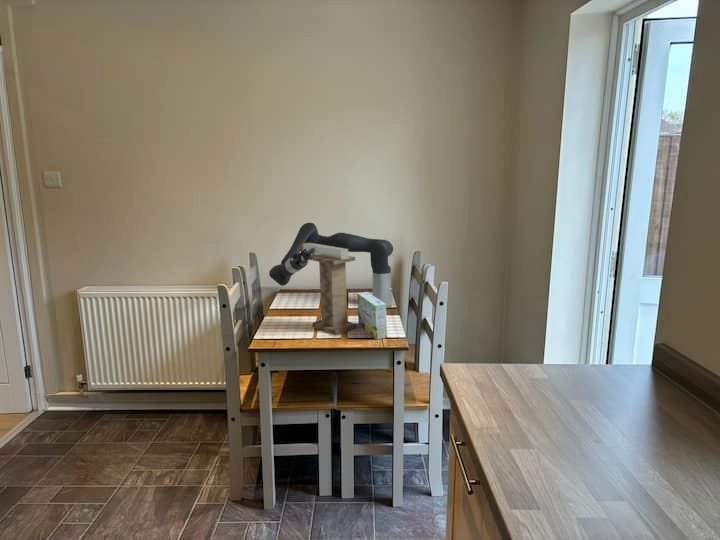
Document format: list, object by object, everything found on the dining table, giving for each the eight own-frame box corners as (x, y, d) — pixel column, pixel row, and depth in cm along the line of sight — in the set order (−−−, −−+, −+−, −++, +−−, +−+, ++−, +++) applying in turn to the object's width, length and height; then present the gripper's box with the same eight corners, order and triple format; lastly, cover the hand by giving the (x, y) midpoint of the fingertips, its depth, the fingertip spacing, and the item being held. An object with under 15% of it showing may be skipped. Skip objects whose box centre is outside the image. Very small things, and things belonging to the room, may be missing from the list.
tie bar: (302, 252, 218) (302, 243, 217) (309, 251, 221) (309, 242, 220) (341, 259, 200) (340, 250, 199) (348, 258, 202) (348, 249, 202)
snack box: (357, 325, 217) (356, 292, 213) (368, 323, 219) (368, 291, 215) (375, 340, 197) (374, 305, 194) (387, 338, 199) (387, 303, 196)
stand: (312, 326, 215) (309, 256, 208) (332, 320, 223) (330, 252, 216) (336, 335, 204) (333, 261, 197) (356, 328, 212) (355, 256, 205)
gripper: (281, 257, 222) (298, 243, 211) (305, 253, 232) (323, 239, 220) (286, 272, 221) (304, 259, 209) (311, 267, 231) (329, 254, 219)
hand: (314, 249), depth 215 cm, fingers open, 8 cm apart
